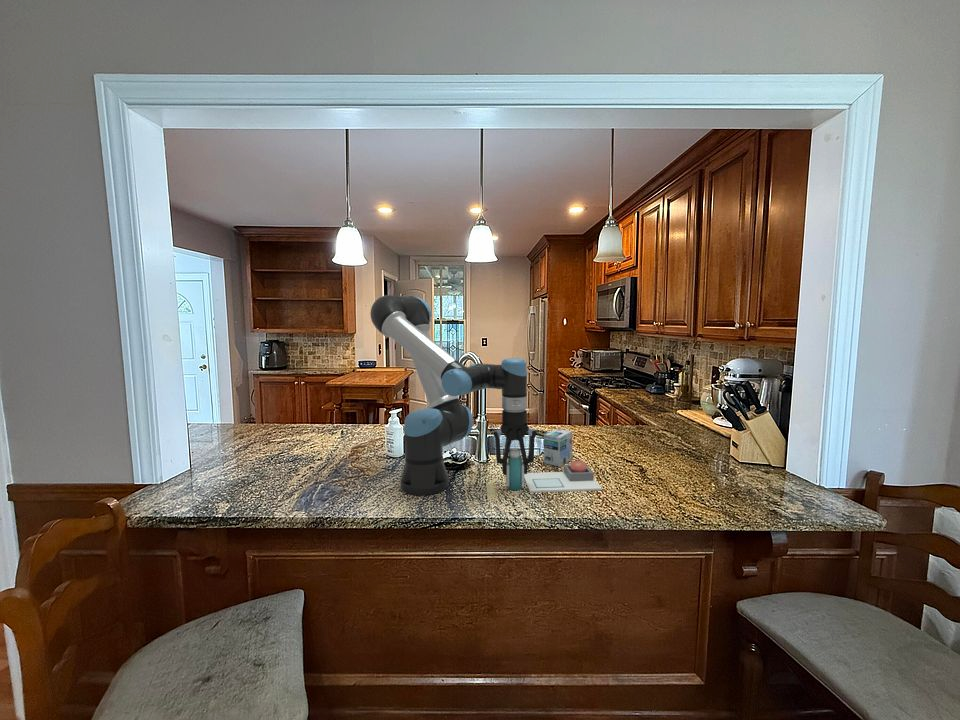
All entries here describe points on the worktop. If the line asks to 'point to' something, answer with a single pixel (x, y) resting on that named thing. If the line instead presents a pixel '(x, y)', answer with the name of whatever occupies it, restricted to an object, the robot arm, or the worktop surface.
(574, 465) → the button
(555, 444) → the light bulb box
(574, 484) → the page board
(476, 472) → the worktop surface
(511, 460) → the teal bottle
